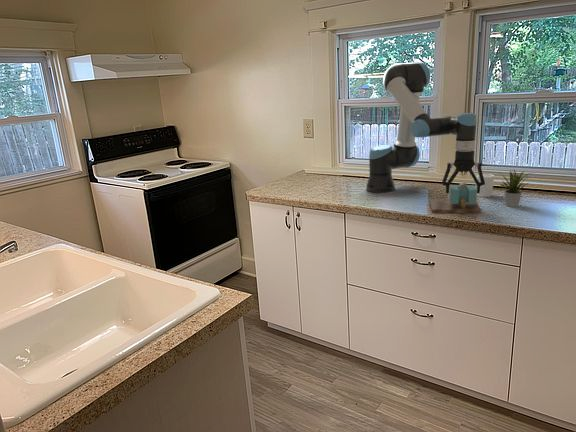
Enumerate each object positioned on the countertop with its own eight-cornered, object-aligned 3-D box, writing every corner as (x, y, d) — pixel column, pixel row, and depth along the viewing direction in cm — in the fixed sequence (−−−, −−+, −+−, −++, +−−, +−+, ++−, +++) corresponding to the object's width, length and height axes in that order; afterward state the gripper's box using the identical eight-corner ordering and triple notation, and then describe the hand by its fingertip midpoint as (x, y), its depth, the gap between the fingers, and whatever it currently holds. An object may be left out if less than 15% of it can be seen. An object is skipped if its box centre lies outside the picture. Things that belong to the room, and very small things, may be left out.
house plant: (540, 207, 188) (545, 170, 183) (514, 211, 185) (518, 174, 180) (515, 200, 201) (518, 165, 197) (490, 204, 198) (493, 168, 193)
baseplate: (431, 212, 190) (432, 187, 187) (429, 204, 203) (430, 180, 199) (480, 213, 185) (482, 187, 182) (476, 205, 197) (477, 180, 194)
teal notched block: (448, 197, 198) (449, 185, 196) (472, 198, 196) (473, 185, 194) (451, 203, 189) (451, 190, 187) (475, 203, 186) (476, 190, 185)
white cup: (494, 197, 208) (496, 177, 205) (476, 197, 209) (478, 177, 206) (490, 193, 215) (492, 173, 212) (473, 193, 217) (474, 173, 214)
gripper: (437, 152, 185) (435, 202, 191) (495, 150, 179) (491, 202, 186) (436, 149, 192) (434, 198, 198) (491, 148, 186) (488, 198, 193)
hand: (462, 200), depth 192 cm, fingers closed on teal notched block, 10 cm apart
